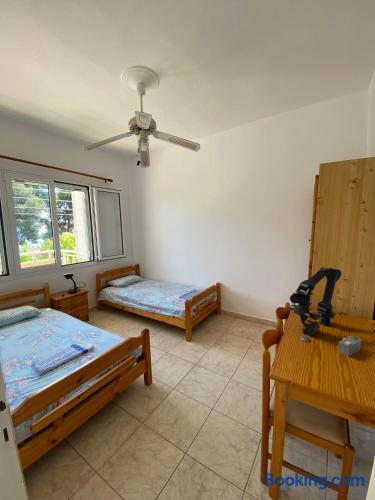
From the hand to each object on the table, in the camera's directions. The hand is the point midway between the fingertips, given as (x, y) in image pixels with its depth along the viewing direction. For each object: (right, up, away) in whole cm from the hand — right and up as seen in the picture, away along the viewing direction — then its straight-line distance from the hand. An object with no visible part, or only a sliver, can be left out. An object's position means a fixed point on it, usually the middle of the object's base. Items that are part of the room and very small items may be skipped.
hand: (303, 323), depth 137 cm
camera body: (+13, -7, -23) cm, 27 cm away
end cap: (+3, -4, -4) cm, 7 cm away
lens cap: (-5, -6, -11) cm, 14 cm away
